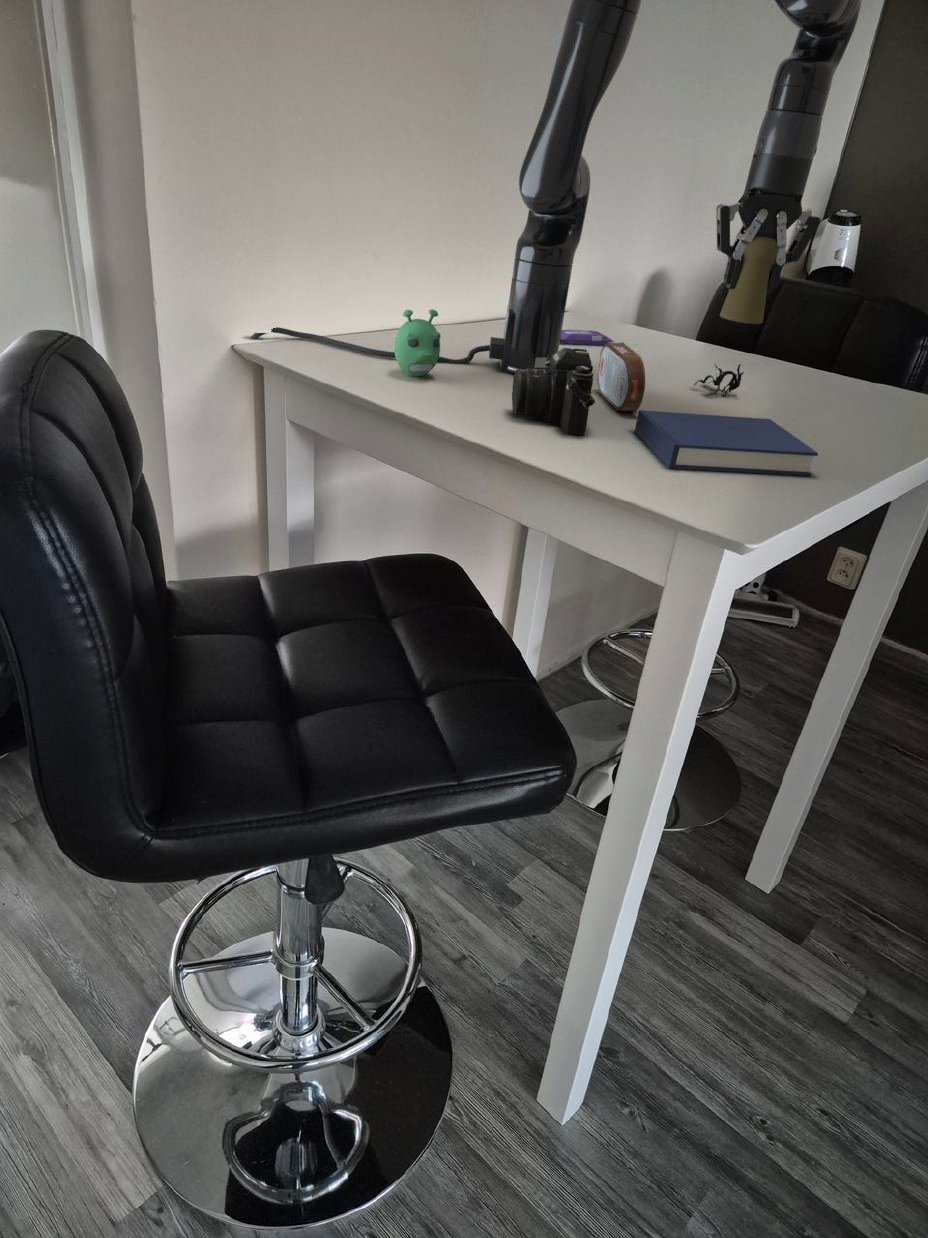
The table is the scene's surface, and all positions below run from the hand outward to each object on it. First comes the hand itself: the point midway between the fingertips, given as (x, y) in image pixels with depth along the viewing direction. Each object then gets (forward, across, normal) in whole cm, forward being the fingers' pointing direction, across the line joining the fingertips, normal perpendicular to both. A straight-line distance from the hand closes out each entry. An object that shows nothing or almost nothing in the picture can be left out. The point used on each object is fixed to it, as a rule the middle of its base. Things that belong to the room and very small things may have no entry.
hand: (748, 289), depth 122 cm
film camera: (+20, +25, +7) cm, 33 cm away
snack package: (+20, +15, -46) cm, 52 cm away
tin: (+20, +14, -5) cm, 25 cm away
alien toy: (+20, +45, -8) cm, 50 cm away
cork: (+4, 0, 0) cm, 4 cm away
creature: (+20, -5, -19) cm, 28 cm away
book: (+19, +2, +14) cm, 24 cm away
